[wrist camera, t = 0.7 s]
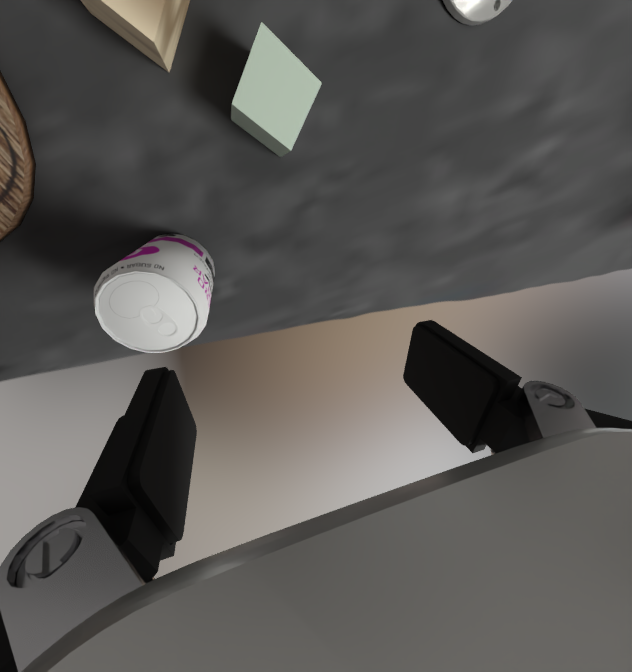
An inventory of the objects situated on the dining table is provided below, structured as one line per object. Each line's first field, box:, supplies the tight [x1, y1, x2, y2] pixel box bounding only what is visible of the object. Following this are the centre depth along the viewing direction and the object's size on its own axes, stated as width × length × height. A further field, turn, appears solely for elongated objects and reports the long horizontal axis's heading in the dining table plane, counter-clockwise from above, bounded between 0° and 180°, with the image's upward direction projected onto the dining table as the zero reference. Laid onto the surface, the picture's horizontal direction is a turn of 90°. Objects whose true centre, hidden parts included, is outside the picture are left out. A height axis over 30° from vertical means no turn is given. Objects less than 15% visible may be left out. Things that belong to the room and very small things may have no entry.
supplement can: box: [94, 233, 215, 353], centre depth 26 cm, size 8×8×15 cm
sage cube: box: [231, 22, 322, 157], centre depth 25 cm, size 6×6×6 cm
